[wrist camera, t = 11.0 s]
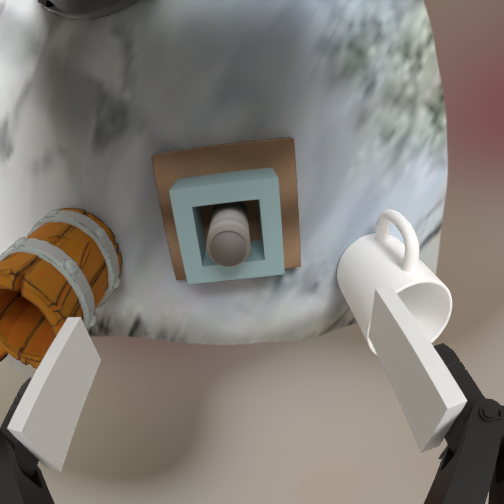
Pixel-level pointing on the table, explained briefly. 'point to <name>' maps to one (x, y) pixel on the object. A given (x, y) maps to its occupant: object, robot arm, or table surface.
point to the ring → (224, 191)
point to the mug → (54, 281)
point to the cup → (393, 277)
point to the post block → (233, 213)
